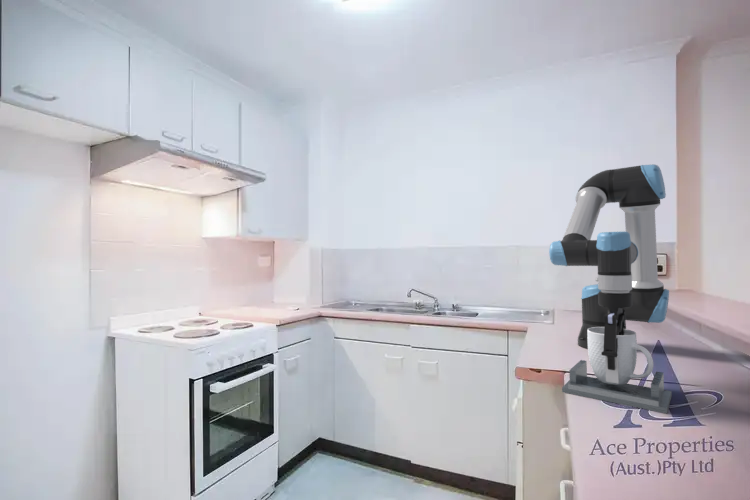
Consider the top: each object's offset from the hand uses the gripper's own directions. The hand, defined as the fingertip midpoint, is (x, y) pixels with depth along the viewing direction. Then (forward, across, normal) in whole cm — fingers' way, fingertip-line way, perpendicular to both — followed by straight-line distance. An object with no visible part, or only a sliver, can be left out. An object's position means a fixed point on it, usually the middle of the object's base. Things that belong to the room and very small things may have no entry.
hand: (616, 375), depth 101 cm
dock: (+4, +2, 0) cm, 5 cm away
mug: (+2, 0, 0) cm, 2 cm away
